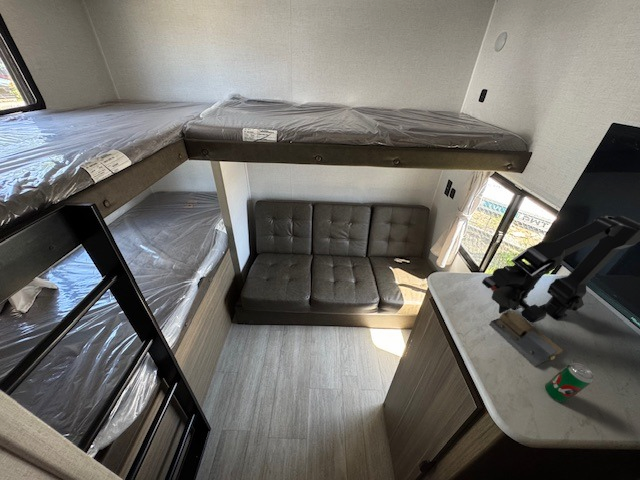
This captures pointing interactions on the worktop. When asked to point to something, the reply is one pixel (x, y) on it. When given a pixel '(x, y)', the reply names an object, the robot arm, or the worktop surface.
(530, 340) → the leaf fixed
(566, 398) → the soda can
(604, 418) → the worktop surface
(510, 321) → the wooden block
